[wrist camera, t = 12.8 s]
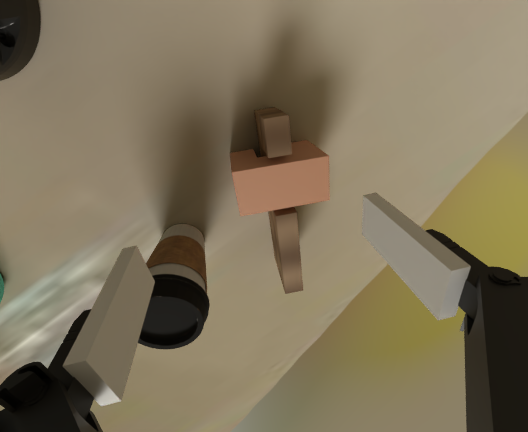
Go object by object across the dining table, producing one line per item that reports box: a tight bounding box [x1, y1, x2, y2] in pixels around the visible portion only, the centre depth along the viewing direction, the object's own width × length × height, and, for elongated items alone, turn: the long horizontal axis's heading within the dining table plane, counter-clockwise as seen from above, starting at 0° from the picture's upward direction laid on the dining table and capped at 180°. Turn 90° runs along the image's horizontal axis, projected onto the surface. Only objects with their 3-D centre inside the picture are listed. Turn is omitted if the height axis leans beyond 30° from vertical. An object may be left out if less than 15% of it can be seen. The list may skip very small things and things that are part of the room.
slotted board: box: [254, 107, 303, 294], centre depth 33 cm, size 22×2×8 cm, turn 7°
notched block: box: [230, 140, 330, 216], centre depth 31 cm, size 10×5×8 cm, turn 97°
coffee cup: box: [138, 224, 209, 349], centre depth 32 cm, size 8×8×15 cm
